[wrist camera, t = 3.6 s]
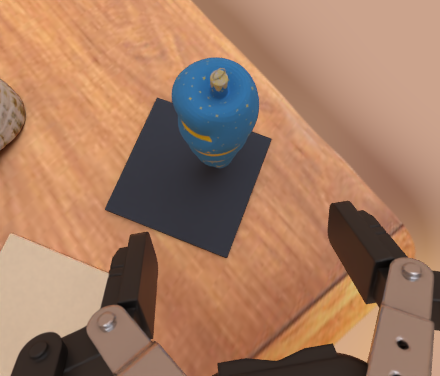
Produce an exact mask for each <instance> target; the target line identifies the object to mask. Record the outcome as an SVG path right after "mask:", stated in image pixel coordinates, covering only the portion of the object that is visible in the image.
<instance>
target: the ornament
mask: <svg viewBox="0 0 440 376" xmlns="http://www.w3.org/2000/svg"><path fill="white" fill-rule="evenodd" d="M172 102H173V106H174V108H175V111H176V113H177V114H178V127H179V131H180V133H181V135H182V137H183V139H184V140H185V141H186V142H187V144H188V145H189V147H190V149H191V151H192V152H193V153H194V154H195V155H196V156H197V157H198V158H199V159H200V161H201V162H203V163H204V164H206V165H208V166H213V167H216V168H224V167H226V166H227V165H229V164H230V163H231V161H232V159H233V158H234V157H235V155H236V154H237V152H238V151H239V150H240V149H241V148H242V147H243V146H244V144H245V143H246V140H247V138H248V136H249V135H250V133H251V132H252V130H253V128H254V126H255V123H256V121H257V117H258V112H259V97H258V92H257V88H256V85H255V83H254V81H253V79H252V77H251V76H250V74H249V73H248V72H247V71H246V70H245V69H244V68H243V67H242V66H241V65H239V64H238V63H236V62H234V61H231V60H228V59H225V58H207V59H203V60H200V61H197V62H195V63H193V64H191V65H189V66H188V67H187V68H185V69H184V70H183V71H182V72H181V73H180V74H179V75H178V77H177V78H176V80H175V82H174V85H173V89H172Z"/></svg>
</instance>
